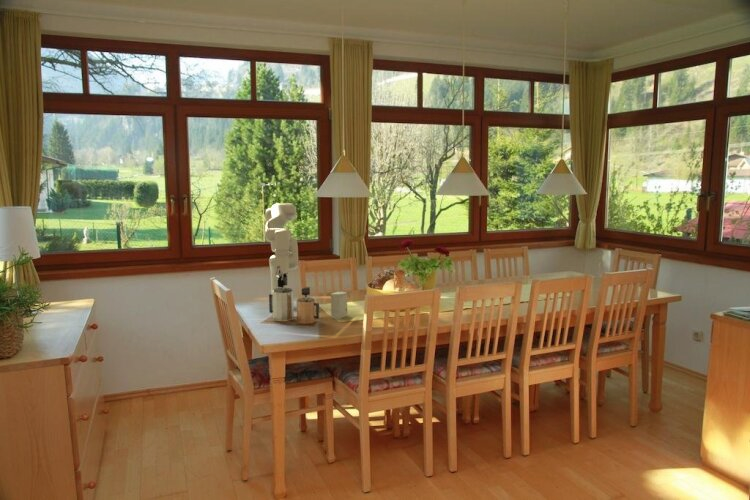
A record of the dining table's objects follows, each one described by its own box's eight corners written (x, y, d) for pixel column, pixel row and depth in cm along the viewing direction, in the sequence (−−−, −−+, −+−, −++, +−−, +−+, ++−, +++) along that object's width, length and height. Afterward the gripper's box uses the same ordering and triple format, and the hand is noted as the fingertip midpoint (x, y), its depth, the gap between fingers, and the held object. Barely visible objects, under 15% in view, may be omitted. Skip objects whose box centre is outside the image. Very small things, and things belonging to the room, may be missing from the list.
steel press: (274, 315, 319) (273, 286, 317) (296, 317, 316) (295, 288, 314) (265, 320, 308) (265, 290, 306) (288, 322, 305) (288, 292, 303)
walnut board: (273, 316, 322) (273, 314, 322) (324, 320, 315) (324, 318, 315) (260, 325, 305) (260, 322, 304) (313, 328, 298) (313, 326, 298)
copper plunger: (302, 313, 310) (302, 286, 308) (313, 314, 309) (313, 286, 307) (298, 316, 304) (297, 288, 302) (309, 317, 303) (309, 289, 301)
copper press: (300, 319, 313) (300, 296, 311) (321, 320, 310) (321, 297, 308) (294, 323, 303) (294, 300, 302) (315, 325, 301) (315, 301, 299)
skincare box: (339, 321, 313) (339, 294, 311) (330, 319, 316) (330, 293, 314) (347, 317, 321) (347, 291, 319) (338, 316, 324) (338, 290, 321)
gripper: (281, 250, 316) (282, 282, 318) (269, 254, 300) (269, 288, 302) (294, 250, 314) (294, 283, 317) (282, 255, 298) (283, 289, 300)
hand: (282, 285), depth 309 cm, fingers closed on steel plunger, 4 cm apart
